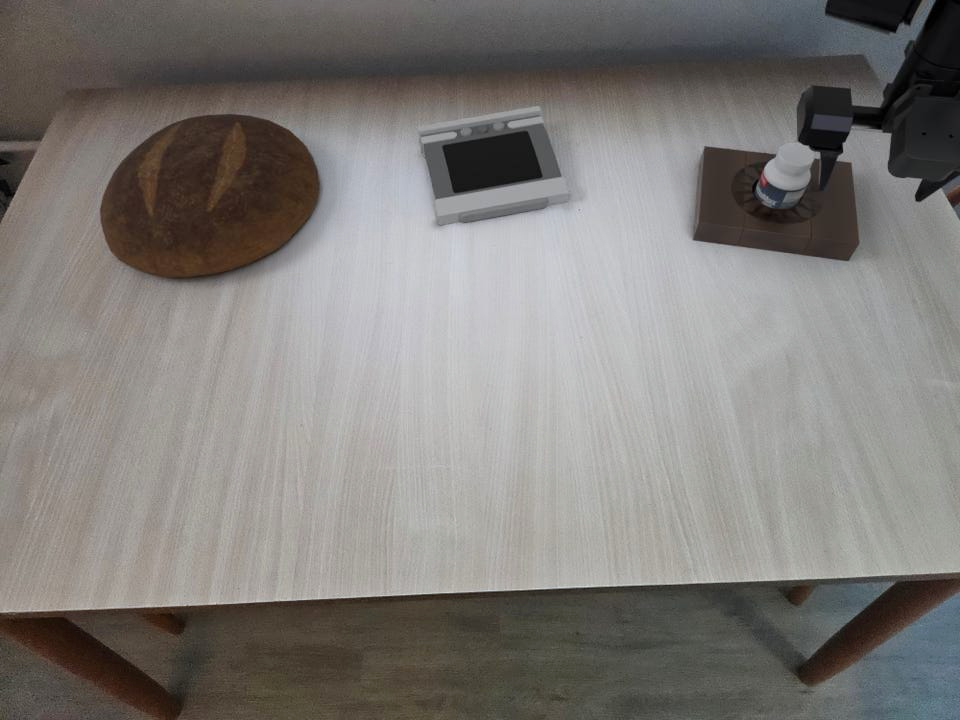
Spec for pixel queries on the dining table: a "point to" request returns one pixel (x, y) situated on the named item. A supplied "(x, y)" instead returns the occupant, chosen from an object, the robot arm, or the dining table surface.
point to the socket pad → (748, 223)
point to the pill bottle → (785, 177)
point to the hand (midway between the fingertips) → (868, 193)
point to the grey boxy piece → (491, 166)
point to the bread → (208, 196)
